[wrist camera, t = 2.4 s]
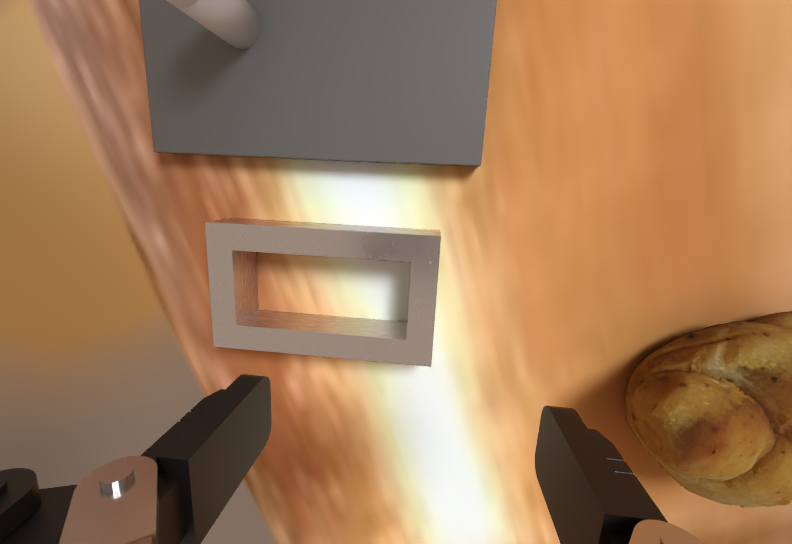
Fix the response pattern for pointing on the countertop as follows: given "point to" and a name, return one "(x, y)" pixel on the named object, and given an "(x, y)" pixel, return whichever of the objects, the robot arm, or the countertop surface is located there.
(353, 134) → the board
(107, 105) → the countertop surface
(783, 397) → the bread roll
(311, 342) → the steel link
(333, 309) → the countertop surface
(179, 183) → the countertop surface
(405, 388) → the countertop surface
